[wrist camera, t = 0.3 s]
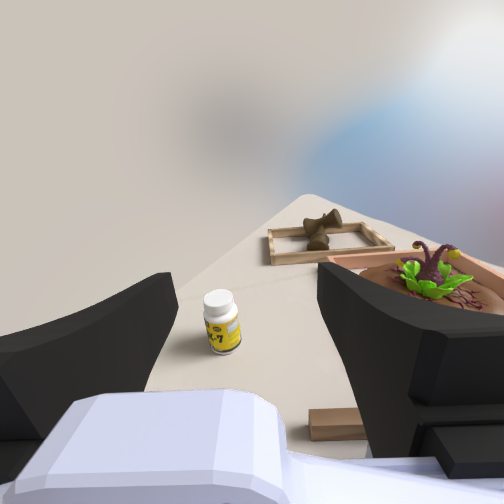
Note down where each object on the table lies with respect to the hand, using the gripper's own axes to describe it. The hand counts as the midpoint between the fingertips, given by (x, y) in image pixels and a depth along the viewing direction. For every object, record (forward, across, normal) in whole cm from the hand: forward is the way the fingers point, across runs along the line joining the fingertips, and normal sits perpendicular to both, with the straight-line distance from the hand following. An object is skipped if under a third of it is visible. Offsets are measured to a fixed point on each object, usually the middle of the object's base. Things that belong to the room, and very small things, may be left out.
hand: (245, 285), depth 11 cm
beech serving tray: (+49, -17, +18) cm, 55 cm away
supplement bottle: (+17, +5, +20) cm, 27 cm away
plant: (+24, -28, +20) cm, 42 cm away
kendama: (+50, -18, +16) cm, 56 cm away
